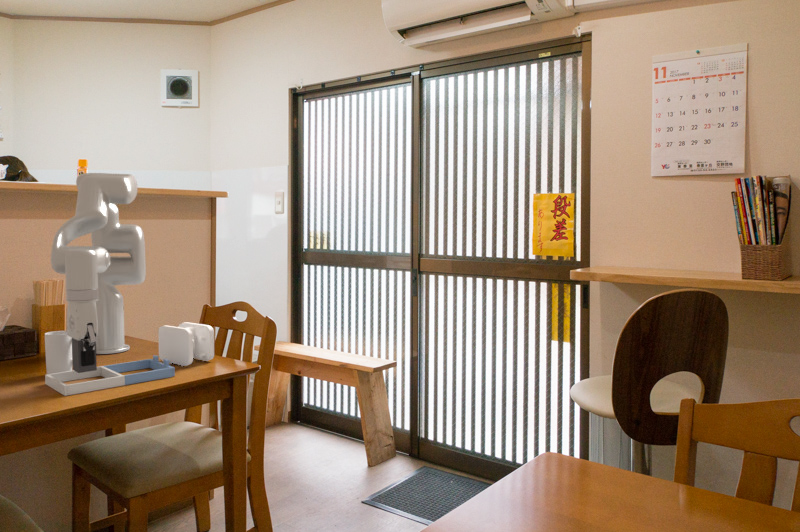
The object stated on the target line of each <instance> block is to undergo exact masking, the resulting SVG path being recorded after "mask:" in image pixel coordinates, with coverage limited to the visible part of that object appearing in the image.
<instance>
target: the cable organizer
mask: <svg viewBox="0 0 800 532" xmlns="http://www.w3.org/2000/svg"><path fill="white" fill-rule="evenodd" d="M157 333H158V356H159V360H161V361H162V362H163V359H168V360H169V363H170V364H169V365H174V364H175V365H178V366H179V365H181V366H180V367H183V366H187V367H188V366H189V365H191V364H192V363H193V361H194V359H195V360H199V361H200V360H203V361H202V362H204V361H207V362H209V361H210V360H213V359H214V357H215V330H214V328H213V327H212V326H211V325H209V324H204V323H198V322H197V323H195V322H188V321H185V322H181V323H179V324H178V326H174V325H168V324H165V325H160V326H159V328H158V331H157ZM193 358H194V359H193ZM172 363H173V364H172Z"/></svg>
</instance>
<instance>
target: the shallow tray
mask: <svg viewBox="0 0 800 532" xmlns="http://www.w3.org/2000/svg"><path fill="white" fill-rule="evenodd" d="M144 369H151V370H149V371H148V370H147V371H142V372H136V373H129V374H125V375H123V374H122V373H126V372H130V371H138V370H144ZM175 369H176V368H175V367H174V366H171V365H170V364H169V360H168V359H163V361H162V362H161V361H160V358H159V355H156V354H155V355H154V354H153V355H152V358H147V359H146V358H145V359H138V360H135V361H133V360H132V361H128V362H119V363H114V364H108V365H107V364H106V365H99V366H97V370H95V371H88V372H82V373H77V372H76V371H74V370H73V369H72V371H67V372H60V373H53V374H47V373H46V374H45V375H44V381H45V382H44V383H45V385H46V386H48V387H50V388H51V389H52V390H55V391H56V392H58V393H59V394H61V395H62V396H65V397H66V396H72V395H77V394H78V395H79V394H83V393H89V392H94V391H100V390H105V389H110V388H111V389H112V388H116V387H123V386H128V385H133V384H139V383H144V382H151V381H155V380H156V381H157V380H162V379H167V378H172V377H173V376H174V377H175V376H176V370H175ZM96 377H103V378H99V379H93V380H88V381H82V382H75V383H69V384H67V383H65V382H70V381H77V380H83V379H84V380H85V379H89V378H96Z"/></svg>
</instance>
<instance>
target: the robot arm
mask: <svg viewBox="0 0 800 532" xmlns="http://www.w3.org/2000/svg"><path fill="white" fill-rule="evenodd" d="M75 180H76V181H75V184H76V187H77V198H76V206H75V213H74V216H72V217H70V218H69V219H68V220H66V221H65V222H64V223H63V224H62V225H61V226H60V227H59V228H58V229H57V230H56V232H55V234H54V237H53V240H52V244H51V245H52V246H51V253H50V266H51V268H52V270H53V271H54V272H55V273H57V274H59V275H61V274H62V275H65V296H66V297H65V298H66V299H65V300H66V303H67V309H66V331H67V335H68V336H69V337H71V338H73V339H75V340H78V341H80V340H81V344H82V351H81V366H89V365H94V364H95V354H94V350H95V346H94V345H95V342H96V355H110V354H118V353H124V352H126V351H127V352H128V351H129V350H130V348H131V347H130V345H129V344H128V343H127V344H126V343H125V310H124V309H125V306H124V305H125V304H124V301H125V300H124V297H123V294H122V293H121V292H120V290H119V289H118V288H117V287H116V286H124V285H125V286H129V285H130V286H131V285H132V286H133V285H134V286H135V285H141V284H143V283H144V282H145V280H146V276H147V263H146V243H145V233H144V231H143V228H142V227H141V226H139V225H137V224H131V223H130V224H129V223H128V224H124V223H123V224H122V223H121V222H120V219H119V218H120V215H119V214H120V212H119V211H120V210H119V208H118V206H117V205H129V204H131V203H132V202H133V201H135V199H136V197H137V195H138V188H139V187H138V182H137V180H136V178H135V176H134V175H133V174H131V173H129V174H128V173H107V172H106V173H105V172H88V173H87V172H86V173H82V174H79V175H78V176H77V177H76V179H75ZM88 234H90V239H91V245H90V246H89V245H88V246H87V245H75V246H74V245H72V246H70V245H69V244H70V243H71V242H73V241H74V240H76V239H78V238H81V237H83V236H86V235H88ZM68 245H69V246H68ZM110 254H129V256H113V255H110ZM84 337H88V338H89V339H84ZM85 341H88V342H86V345H85Z"/></svg>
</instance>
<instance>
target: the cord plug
mask: <svg viewBox="0 0 800 532" xmlns="http://www.w3.org/2000/svg"><path fill="white" fill-rule="evenodd" d="M84 339H89V338H88V337H84ZM86 342H88V341H85V345H86ZM94 346H95V350H94V354H95V364H94V365H89V366H81V351H82V344H81V340H80V341H78V340H75V339H73V338H72V364H73V365H72V371H73V370H74V371H76V372H77V373H82V372H88V371H95V370H97V367H98V366H97V364H98V363H97V354H96V342H95V345H94Z"/></svg>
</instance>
